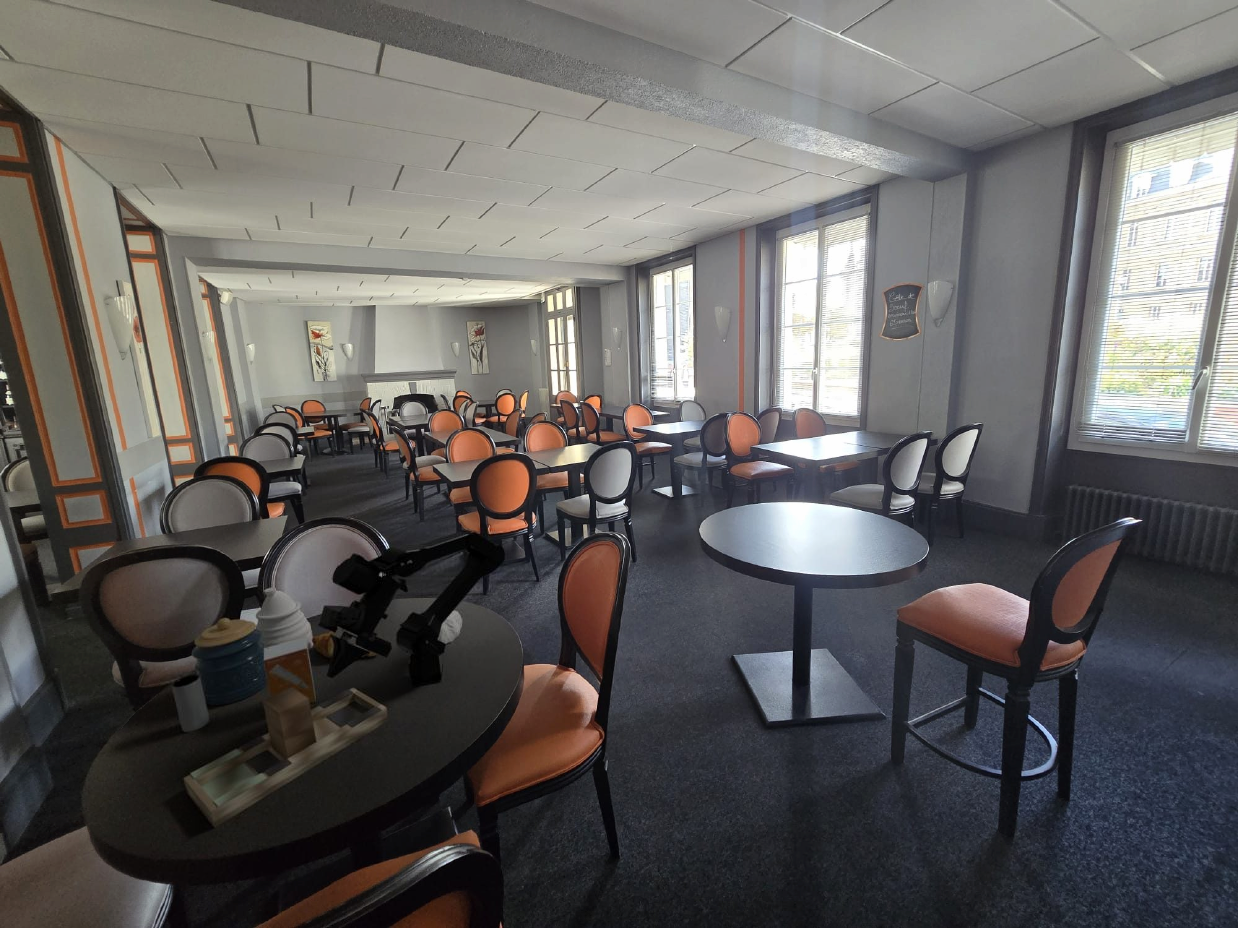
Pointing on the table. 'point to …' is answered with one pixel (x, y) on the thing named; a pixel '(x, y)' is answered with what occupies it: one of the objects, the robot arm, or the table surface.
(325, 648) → the croissant
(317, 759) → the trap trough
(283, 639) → the honey pot
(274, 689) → the small box
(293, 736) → the walnut block
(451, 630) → the white lumpy piece
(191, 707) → the planter
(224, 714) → the table surface
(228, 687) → the canister
